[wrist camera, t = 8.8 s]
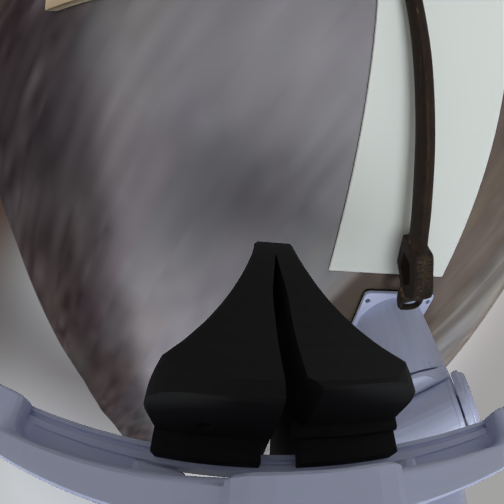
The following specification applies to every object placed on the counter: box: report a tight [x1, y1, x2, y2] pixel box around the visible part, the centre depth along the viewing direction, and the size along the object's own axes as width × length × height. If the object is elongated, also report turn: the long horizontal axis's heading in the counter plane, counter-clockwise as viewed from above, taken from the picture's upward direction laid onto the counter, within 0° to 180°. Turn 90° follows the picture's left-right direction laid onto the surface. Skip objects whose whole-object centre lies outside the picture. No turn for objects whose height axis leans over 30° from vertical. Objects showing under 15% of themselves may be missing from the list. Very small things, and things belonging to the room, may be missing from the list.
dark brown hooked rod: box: [397, 0, 435, 310], centre depth 16 cm, size 5×5×30 cm
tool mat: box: [329, 0, 504, 277], centre depth 17 cm, size 28×12×1 cm, turn 176°
